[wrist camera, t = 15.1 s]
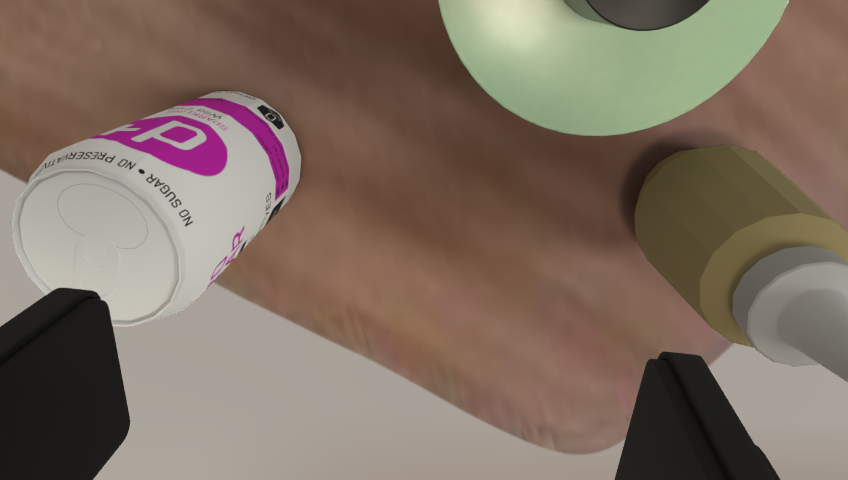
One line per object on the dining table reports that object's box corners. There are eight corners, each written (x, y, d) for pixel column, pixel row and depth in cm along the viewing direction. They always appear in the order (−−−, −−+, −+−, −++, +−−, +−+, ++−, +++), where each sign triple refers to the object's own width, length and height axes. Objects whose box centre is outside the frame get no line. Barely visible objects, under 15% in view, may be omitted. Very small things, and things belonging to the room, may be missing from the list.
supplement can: (189, 70, 34) (-4, 120, 21) (318, 116, 35) (213, 196, 21) (170, 189, 38) (-7, 301, 24) (288, 230, 38) (181, 363, 24)
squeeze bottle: (630, 126, 33) (775, 256, 17) (774, 131, 33) (1070, 272, 16) (610, 250, 36) (715, 461, 20) (740, 257, 36) (958, 481, 19)
